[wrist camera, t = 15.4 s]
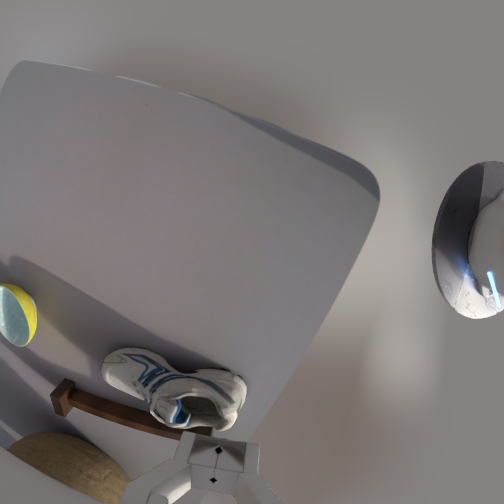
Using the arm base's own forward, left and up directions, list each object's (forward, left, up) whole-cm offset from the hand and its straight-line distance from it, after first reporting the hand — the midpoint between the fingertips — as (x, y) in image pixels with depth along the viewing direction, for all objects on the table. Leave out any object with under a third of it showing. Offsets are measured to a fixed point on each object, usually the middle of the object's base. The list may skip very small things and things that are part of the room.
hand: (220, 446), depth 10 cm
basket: (+32, +58, -31) cm, 73 cm away
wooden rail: (+18, +33, -31) cm, 49 cm away
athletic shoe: (+10, +21, -31) cm, 39 cm away
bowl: (+40, +16, -31) cm, 53 cm away
